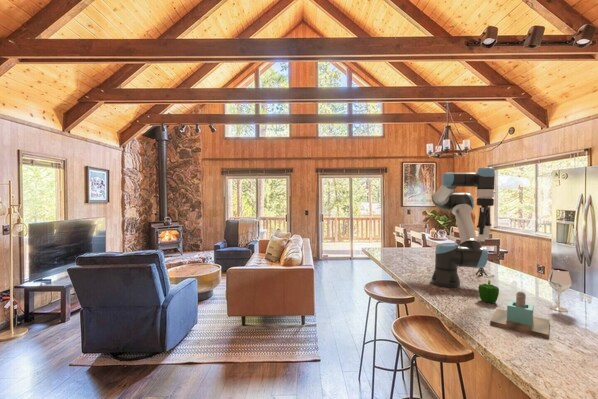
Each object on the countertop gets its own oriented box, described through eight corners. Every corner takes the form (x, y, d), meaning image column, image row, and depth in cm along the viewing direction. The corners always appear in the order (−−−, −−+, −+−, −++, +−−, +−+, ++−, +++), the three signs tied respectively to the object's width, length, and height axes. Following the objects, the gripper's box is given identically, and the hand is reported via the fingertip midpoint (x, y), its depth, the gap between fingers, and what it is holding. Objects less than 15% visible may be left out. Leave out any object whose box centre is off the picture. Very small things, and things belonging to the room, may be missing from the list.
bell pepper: (493, 306, 144) (493, 284, 144) (475, 300, 151) (475, 280, 151) (502, 302, 149) (502, 282, 148) (484, 297, 156) (484, 278, 155)
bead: (506, 320, 124) (507, 305, 123) (509, 314, 130) (509, 300, 130) (531, 326, 118) (532, 310, 118) (533, 319, 125) (533, 305, 124)
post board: (490, 324, 123) (491, 291, 123) (496, 311, 137) (497, 282, 136) (548, 338, 111) (549, 302, 111) (549, 323, 125) (550, 291, 125)
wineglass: (565, 313, 136) (566, 272, 136) (543, 307, 144) (544, 268, 143) (574, 310, 140) (575, 271, 140) (552, 304, 147) (553, 267, 147)
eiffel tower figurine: (468, 276, 200) (468, 255, 200) (467, 272, 209) (468, 252, 209) (495, 279, 193) (496, 257, 193) (493, 275, 202) (494, 255, 202)
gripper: (489, 198, 146) (488, 243, 146) (497, 198, 165) (496, 238, 165) (471, 197, 150) (470, 241, 151) (481, 197, 170) (480, 236, 170)
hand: (483, 239), depth 158 cm, fingers open, 13 cm apart
